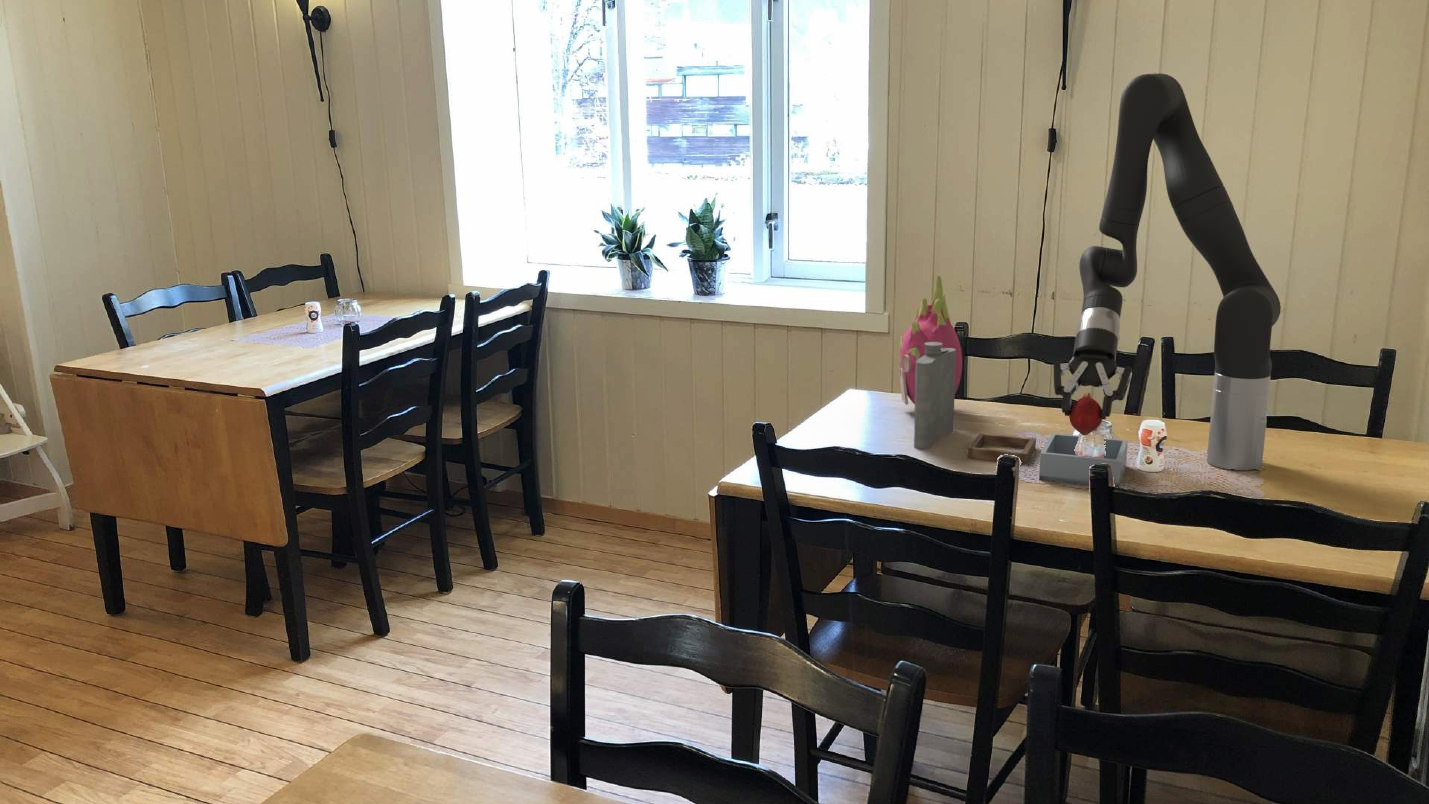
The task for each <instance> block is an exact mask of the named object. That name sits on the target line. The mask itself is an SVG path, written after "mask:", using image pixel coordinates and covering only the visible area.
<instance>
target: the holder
mask: <svg viewBox="0 0 1429 804" xmlns="http://www.w3.org/2000/svg"><path fill="white" fill-rule="evenodd" d="M1036 441H1037V438H1036V437H1035V438H1034V437H1025V436H1016V435H1014V436H1013V435H1006V434H1005V435H1003V434H993V433H983V432H982V433H981V432H979V433H978V435H977V436H976V437H975V438H974V440H973V441H972V442H971V444H970V445H969V446H967V459H972V460H973V459H975V460H980V461H981V460H984V461H991V462H992V461H993V462H997V461H996V460H997V458H998V457H999V456H1000V455H1004V454H1008V455H1015V456H1017V457H1019V458H1020V460H1021V462H1022V464H1021V465H1027V463H1028V461H1029V460H1030V458H1031V456H1032V455H1033V453H1034V451H1035V450H1036V446H1037V445H1036V443H1037V442H1036ZM984 445H985V446H987V445H988V446H994V447H995V446H996V447H1005V448H1014V449H1015V448H1017V449H1022V451H1015V450H1014V451H1013V450H1005V449H996V448H995V449H994V448H985V447H983V446H984Z"/></svg>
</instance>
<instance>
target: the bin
mask: <svg viewBox="0 0 1429 804" xmlns="http://www.w3.org/2000/svg"><path fill="white" fill-rule="evenodd" d="M1078 436H1079V435H1076V434H1075V435H1074V434H1065V433H1064V434H1063V433H1054V432H1053V433H1051V434H1050V435H1049V437H1048V438H1047V441H1046V443H1045V444H1044V446H1043V448H1042V450H1041V452H1040V454H1039V457H1040V458H1039V475H1038V476H1039V477H1038V480H1039V481H1040V480H1041V481H1046V482H1047V481H1048V482H1056V483H1065V484H1066V483H1067V484H1076V485H1083V486H1090V485H1089V467H1090V466H1092V465H1093V464H1096V463H1111V464H1112V472H1113V477H1114V484H1115V487H1119V488H1120V487H1121V486H1120V485H1121V482H1122V480H1123V476H1124V473H1125V470H1126V467H1127V454H1128V442H1129V440H1128V439H1121V438H1119V439H1117V438H1110V437H1108V439H1104V441H1106V443H1105V444H1104V445H1106V446H1105V447H1106V448H1105V451H1106V456H1104V458H1097V457H1087V456H1077V455H1076V454H1075V451H1074V449H1075V446H1076V444H1077V441H1078V438H1079V437H1078Z"/></svg>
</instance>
